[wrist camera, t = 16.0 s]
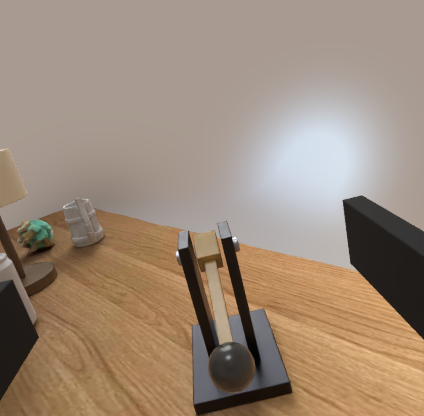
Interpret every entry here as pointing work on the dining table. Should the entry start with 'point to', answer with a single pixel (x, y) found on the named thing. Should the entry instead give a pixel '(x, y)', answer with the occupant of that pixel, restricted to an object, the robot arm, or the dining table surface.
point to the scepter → (35, 234)
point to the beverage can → (5, 270)
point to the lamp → (4, 195)
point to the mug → (82, 223)
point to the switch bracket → (241, 331)
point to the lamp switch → (222, 324)
